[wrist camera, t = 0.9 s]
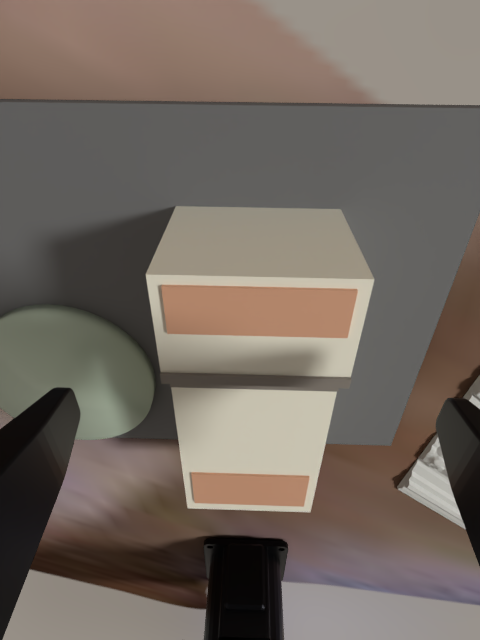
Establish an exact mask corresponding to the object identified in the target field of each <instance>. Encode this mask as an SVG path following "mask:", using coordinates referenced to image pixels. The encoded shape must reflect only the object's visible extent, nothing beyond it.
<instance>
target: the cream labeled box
mask: <svg viewBox="0 0 480 640" xmlns="http://www.w3.org/2000/svg"><path fill="white" fill-rule="evenodd" d="M170 387H171V390H172V397H173V404H174V412H175V419H176V426H177V434H178V441H179V448H180V456H181V463H182V470H183V478H184V485H185V492H186V500H187V507H188V508H196V509H226V510H257V511H288V512H311V507H312V503H313V498H314V493H315V489H316V484H317V480H318V475H319V471H320V466H321V462H322V457H323V453H324V448H325V444H326V439H327V435H328V430H329V426H330V421H331V417H332V412H333V407H334V403H335V398H336V394H337V392H338V389H339V388H305V387H267V386H230V385H192V384H170Z"/></svg>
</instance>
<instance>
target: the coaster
mask: <svg viewBox="0 0 480 640" xmlns="http://www.w3.org/2000/svg"><path fill="white" fill-rule="evenodd" d="M56 387H66V388H71V389H72V390H73V391H74V393H75V396H76V399H77V402H78V405H79V408H80V413H81V416H80V422H79V425H78V429H77V433H76V437H75V439H80V440H97V439H106V438H111V437H115V436H118V435H121V434H124V433H126V432H128V431H130V430H132V429H133V428H135V427H136V426H137V425H139V424H140V423H141V422H142V421H143V420H144V418H145V417H146V416H147V414H148V412H149V410H150V408H151V404H152V401H153V397H154V394H155V388H156V378H155V373H154V369H153V366H152V364H151V362H150V359H149V358H148V356H147V355H146V353H145V351H144V350H143V349H142V348H141V346H140V345H139V344H138V343H137V342H136V341H135V340H134V339H133V338H132V337H131V336H130V335H129V334H127V333H126V332H125V331H123V330H122V329H121V328H119V327H118V326H116V325H115V324H113V323H111V322H110V321H108V320H106V319H104V318H102V317H100V316H97V315H95V314H92V313H90V312H87V311H84V310H80V309H77V308H73V307H68V306H62V305H51V304H42V305H31V306H24V307H21V308H17V309H14V310H12V311H10V312H8V313H5V314H4V315H2V316H1V317H0V408H1V409H3V410H4V411H5V412H6V413H8V414H9V415H11V416H12V417H14V418H15V417H17V416H18V415H19V414H20V413H22V412H23V411H24V410H26V409H27V408H28V407H29V406H31V405H32V404H33V403H35V402H36V401H37V400H38V399H40V398H41V397H42V396H43V395H45V394H46V393H47V392H49V391H50V390H51V389H53V388H56Z"/></svg>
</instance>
